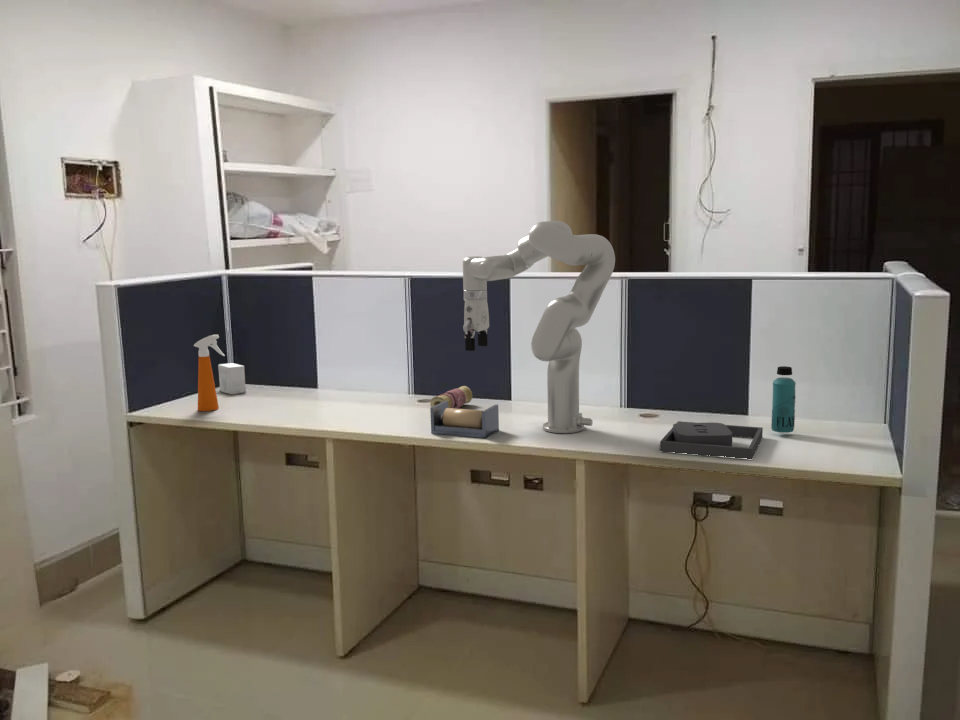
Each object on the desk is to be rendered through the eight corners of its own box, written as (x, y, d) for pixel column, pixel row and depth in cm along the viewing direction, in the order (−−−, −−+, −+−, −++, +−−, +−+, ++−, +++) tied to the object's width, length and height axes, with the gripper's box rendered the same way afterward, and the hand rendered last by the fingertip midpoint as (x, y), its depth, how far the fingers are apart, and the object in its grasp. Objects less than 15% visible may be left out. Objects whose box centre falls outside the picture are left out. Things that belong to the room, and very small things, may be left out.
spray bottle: (225, 410, 299) (220, 335, 295) (194, 411, 299) (188, 336, 295) (231, 406, 306) (226, 332, 302) (201, 407, 306) (195, 333, 302)
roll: (487, 427, 262) (486, 408, 261) (479, 433, 257) (478, 413, 256) (451, 424, 267) (450, 405, 266) (443, 429, 262) (442, 410, 261)
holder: (498, 430, 263) (498, 404, 262) (485, 438, 254) (485, 411, 253) (445, 425, 270) (445, 400, 269) (431, 433, 261) (430, 407, 260)
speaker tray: (762, 437, 247) (762, 427, 246) (751, 460, 225) (752, 449, 225) (677, 431, 257) (678, 421, 256) (660, 452, 235) (660, 441, 235)
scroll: (451, 414, 280) (480, 401, 297) (442, 392, 280) (471, 381, 298) (433, 421, 284) (462, 409, 301) (424, 400, 284) (454, 389, 301)
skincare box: (246, 392, 331) (244, 365, 329) (230, 394, 327) (228, 367, 325) (235, 388, 339) (233, 362, 337) (219, 391, 335) (217, 364, 333)
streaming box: (671, 440, 248) (671, 422, 247) (722, 440, 247) (722, 422, 246) (679, 454, 233) (680, 435, 232) (734, 453, 232) (734, 435, 232)
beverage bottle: (773, 437, 246) (775, 368, 243) (768, 432, 253) (770, 364, 250) (796, 438, 246) (799, 368, 242) (791, 432, 252) (794, 364, 249)
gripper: (474, 298, 267) (476, 352, 270) (496, 293, 283) (497, 344, 285) (452, 297, 270) (454, 351, 273) (475, 292, 286) (477, 343, 289)
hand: (476, 348), depth 279 cm, fingers open, 9 cm apart
